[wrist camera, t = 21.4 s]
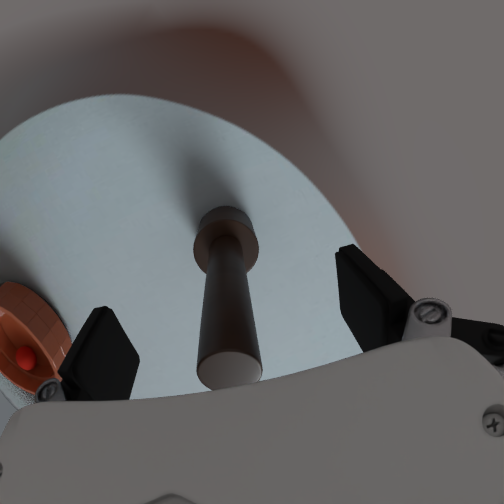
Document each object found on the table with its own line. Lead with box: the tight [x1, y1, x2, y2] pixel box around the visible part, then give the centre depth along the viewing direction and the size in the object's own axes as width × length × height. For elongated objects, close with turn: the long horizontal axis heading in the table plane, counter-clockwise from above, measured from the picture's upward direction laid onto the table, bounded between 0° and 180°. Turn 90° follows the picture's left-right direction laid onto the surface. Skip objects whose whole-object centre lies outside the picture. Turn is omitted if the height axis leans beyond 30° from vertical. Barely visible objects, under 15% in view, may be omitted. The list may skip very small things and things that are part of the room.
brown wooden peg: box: [193, 206, 263, 390], centre depth 16 cm, size 4×4×15 cm
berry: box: [16, 346, 37, 370], centre depth 24 cm, size 3×3×3 cm
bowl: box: [0, 282, 72, 395], centre depth 22 cm, size 13×13×5 cm
